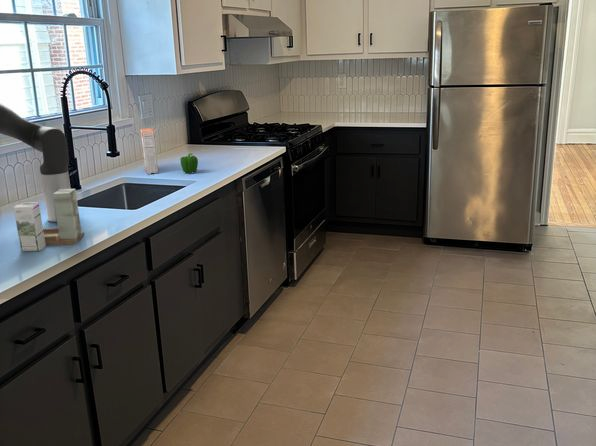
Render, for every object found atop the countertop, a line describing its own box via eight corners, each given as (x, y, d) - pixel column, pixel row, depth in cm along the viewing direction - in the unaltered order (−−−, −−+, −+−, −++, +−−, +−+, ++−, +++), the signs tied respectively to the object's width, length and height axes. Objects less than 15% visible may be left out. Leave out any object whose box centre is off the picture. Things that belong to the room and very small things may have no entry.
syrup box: (46, 245, 184) (39, 201, 180) (39, 251, 179) (31, 206, 174) (28, 246, 184) (20, 201, 180) (20, 252, 178) (12, 206, 174)
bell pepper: (179, 172, 289) (177, 152, 286) (195, 170, 292) (194, 150, 289) (183, 175, 281) (182, 154, 279) (200, 173, 285) (198, 153, 282)
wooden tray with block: (40, 236, 193) (32, 189, 188) (84, 235, 194) (77, 187, 189) (30, 245, 185) (21, 195, 180) (75, 243, 185) (68, 194, 180)
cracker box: (144, 169, 297) (140, 128, 291) (156, 168, 299) (152, 127, 293) (146, 174, 284) (141, 132, 278) (158, 173, 286) (154, 131, 280)
